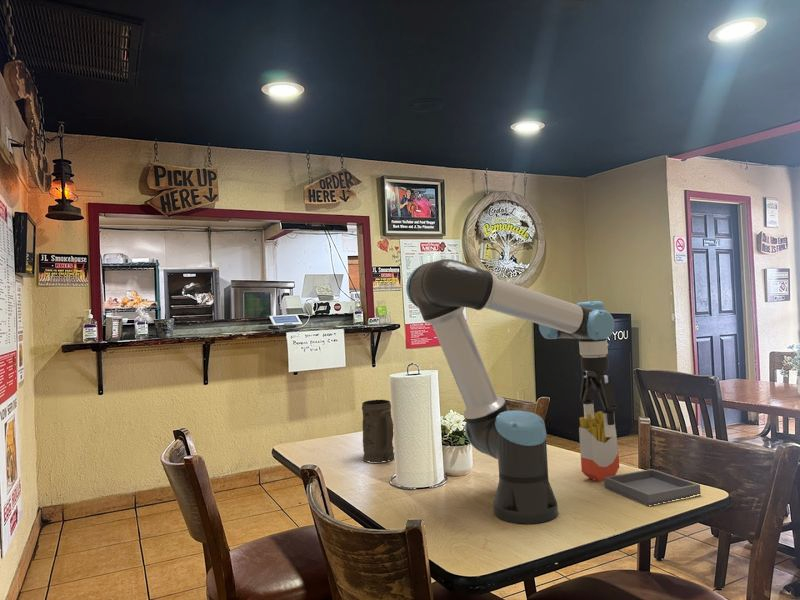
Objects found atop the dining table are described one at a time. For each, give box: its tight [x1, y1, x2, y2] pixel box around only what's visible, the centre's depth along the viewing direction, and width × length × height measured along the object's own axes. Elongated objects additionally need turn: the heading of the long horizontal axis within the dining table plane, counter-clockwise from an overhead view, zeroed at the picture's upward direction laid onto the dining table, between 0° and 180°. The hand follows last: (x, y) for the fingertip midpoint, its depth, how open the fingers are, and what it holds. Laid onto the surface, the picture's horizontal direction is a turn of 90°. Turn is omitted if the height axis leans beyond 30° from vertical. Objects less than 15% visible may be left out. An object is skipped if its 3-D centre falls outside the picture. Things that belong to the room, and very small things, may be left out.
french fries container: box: [578, 410, 620, 482], centre depth 160 cm, size 5×11×18 cm, turn 121°
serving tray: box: [603, 468, 702, 506], centre depth 146 cm, size 16×16×3 cm
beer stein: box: [361, 399, 395, 462], centre depth 191 cm, size 15×11×20 cm
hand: (599, 431), depth 160 cm, fingers open, 13 cm apart
